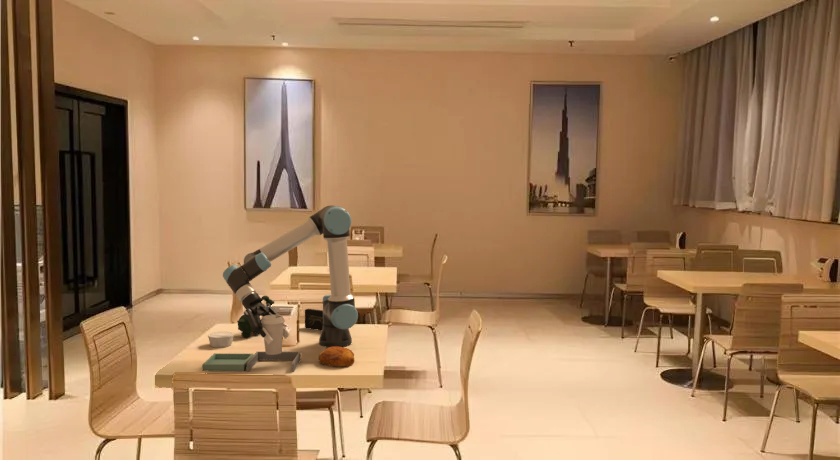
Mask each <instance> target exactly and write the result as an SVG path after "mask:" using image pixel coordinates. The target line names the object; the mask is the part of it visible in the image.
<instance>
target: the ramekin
mask: <svg viewBox="0 0 840 460" xmlns="http://www.w3.org/2000/svg"><path fill="white" fill-rule="evenodd" d="M207 335H208V336H207V338H208V342H209V346H210V347H211V348H215V349H216V348H217V349H218V348H219V349H220V348H228V347H230V346H232V344H233V340H234V332H232V331H215V332H210V333H209V334H207Z"/></svg>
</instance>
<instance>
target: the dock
mask: <svg viewBox="0 0 840 460" xmlns="http://www.w3.org/2000/svg"><path fill="white" fill-rule="evenodd" d="M253 354H254V355H253V357H252V358H251V359H250V360H249V361H248V362H247V368H246V372H247V373H249V372H250V371H251V370H252V369H253V368H254V366H255V365H256V364H257V363H258V362H259V361H292V362H291V373H294V372H295V371H296V369H297V367H298V365H299V364H300V362H301V360H302V352H301V351H282V353H280V354H276V355H268V354H266V352H265V351H255V353H253Z"/></svg>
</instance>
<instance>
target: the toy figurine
mask: <svg viewBox="0 0 840 460" xmlns="http://www.w3.org/2000/svg"><path fill="white" fill-rule="evenodd" d="M260 298H261V302H262V301H265V305H267V304H268V303H269V304H270V305H272V304H275V300H272V299H271V298H270V297H269V296H268V295H262V296H261V297H260ZM265 313H266V311H265ZM265 313H264V314H265ZM262 319H263V316H261V318H260V320H262ZM236 323H237V330H238V331H240V332H241V336H242V337H243V338H246V339H247V338H248V339H249V337H251V334H253V333H255V334H256V335H260V333H259V332H258V333H256V332H255V331H253V330H252V328H251V326H250V324H249V321H248V319H247V317H246V316H245V314H244V313H243V314H242V315H241V316H240V317H239V319H238V320H237V321H236ZM261 324H262V323H261ZM254 327H255V326H254ZM262 328H263V326H262Z"/></svg>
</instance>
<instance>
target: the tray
mask: <svg viewBox="0 0 840 460" xmlns="http://www.w3.org/2000/svg"><path fill="white" fill-rule="evenodd" d="M254 354H255V353H236V352H235V353H232V352H231V353H230V352H229V353H213V354H211V356H210V357H209V358H208V359H206V360H205V361H204V362H203V363H202V367H201V368H202V371H203V372H245V370H247V362H248V361H249V360H250V359H251V358H252V357H253V355H254Z"/></svg>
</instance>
